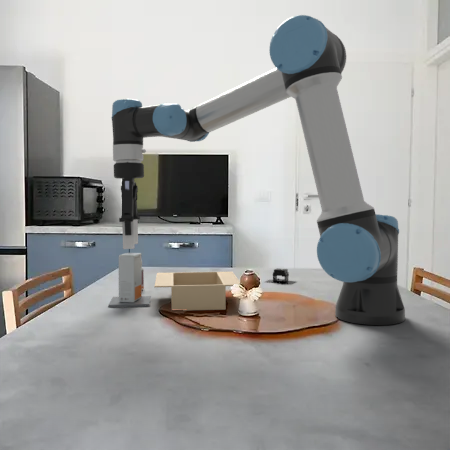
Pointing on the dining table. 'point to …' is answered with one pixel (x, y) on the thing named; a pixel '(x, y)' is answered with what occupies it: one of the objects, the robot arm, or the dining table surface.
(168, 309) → the dining table surface
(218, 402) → the dining table surface
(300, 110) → the robot arm
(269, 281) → the black boxy piece
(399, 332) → the dining table surface
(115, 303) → the coaster
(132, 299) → the skincare box
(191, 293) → the carton
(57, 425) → the dining table surface
